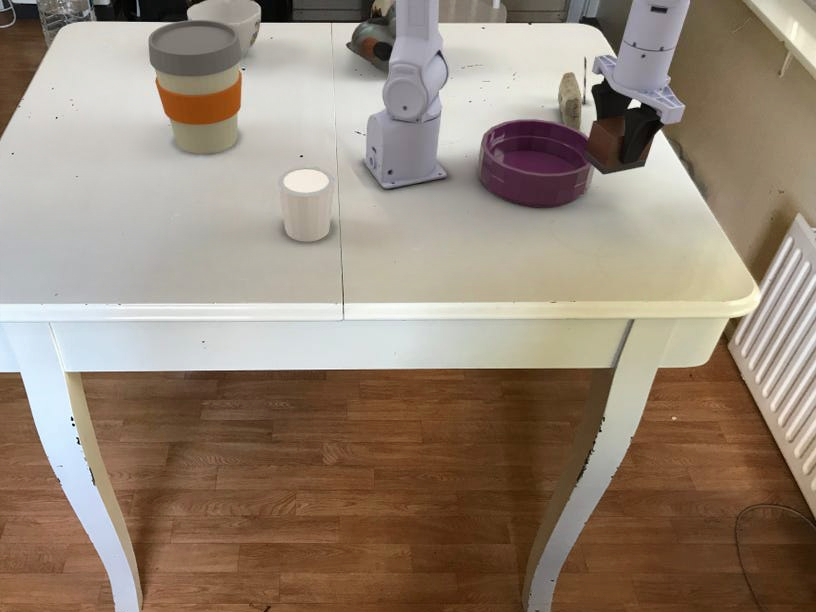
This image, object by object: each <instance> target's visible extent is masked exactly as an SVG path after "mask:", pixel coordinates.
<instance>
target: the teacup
mask: <svg viewBox="0 0 816 612" xmlns="http://www.w3.org/2000/svg"><path fill="white" fill-rule="evenodd" d="M186 15H187V21H188V20H210V21H217V22H221V23H225V24H227V25H230V26H231V27H233V28H234V29H235V30H236V31H237V33H238V37H239V42H240V47H241V52H242V58H241V60H242V59H243V58H244V57H245V56H246V55H247V53H248V52H249V51H250V50H251V49H252V48H253V46H254V45H255V42H256V40H257V38H258V36H259V33H260V27H261V20H262V7H261V6H260V4H259V3H257V2H256V1H255V0H203V1H201V2H199V3H195V4H193V5H192V6H191V7H189V8H188V9H187V10H186Z"/></svg>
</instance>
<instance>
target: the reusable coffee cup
mask: <svg viewBox="0 0 816 612" xmlns="http://www.w3.org/2000/svg"><path fill="white" fill-rule="evenodd" d="M148 53H149V54H148V56H149V63H150V65H151V67H152V68H154V72H155V75H156V77H155V80H154V83H155V86H156V89H157V92H158V96H159V99H160V102H161V106H162V108H163V111H164V114H165V116H166V117H168V119H169V122H170V125H171V128H172V129H171V130H172V132H173V135H174V137H175V141H176V145H177V146H178V148H179V149H181V150H183V151H185V152H187V153H191V154H196V155H210V154H216V153H221V152H224V151H226V150H228V149H230V148H231V147H232V146H234V144H236V142H237V138H238V115H239V114H238V113H239V111H240V110H241V107H242V83H243V74H242V72H241V70H240V62H241V60H242V59H243V58H242V52H241V47H240V42H239V37H238V33H237V31H236V30H235V29H234V28H233V27H231V26H230V25H227V24H225V23H221V22H217V21H210V20H188V19H187V20H181V21H175V22H172V23H168V24H165V25H162V26H160V27H158V28H156V29H155V30H153V31H152V32H151V33H150V35H149V36H148ZM241 58H242V59H241Z"/></svg>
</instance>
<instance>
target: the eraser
mask: <svg viewBox="0 0 816 612" xmlns="http://www.w3.org/2000/svg"><path fill="white" fill-rule="evenodd" d="M624 133H625V120H624V115H623V116H617V117H612V118H606V119H600V120H597V119H596V120H595V119H594V120H593V121H592V124H591V128H590V131H589V135H588V137H589V138H588V142H587V146H586V151H585V154H584V158H585V159H586V160H587V161H588V162H589V163H590V164H591V165H593V166H594V167H595V170H597V171H598V172H599V173H601V174H602V175H610V174H614V173H619V172H624V171H625V172H626V171H629V170H635V169H639V168H644V167H645V165H646V163H647V160H648V157H649V154H650V151H651V148H652V145H653V142H654V139H655V136H656V134H655V135H654V137H653V138H652V139H651V140H650V142H649V143H648V145H647V146H646V148H645V149H644V151H643V152H642V154H641V155H640V157H639V159H638V160H637V162H633V163H628V164H622V163H621V162H620V155H621V148H622V144H623V140H624Z"/></svg>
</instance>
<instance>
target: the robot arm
mask: <svg viewBox="0 0 816 612" xmlns="http://www.w3.org/2000/svg"><path fill="white" fill-rule="evenodd" d="M690 4H691V0H632V3H631V6H630V11H629V14H628V18H627V21H626V25H625V29H624V33H623V36H622V40H621V43H620V48H619V50H618V54H617V57H616V56H613V55H611V54H610V53H607V54H601V55H596V56H595V57H594V61H593V64H592V69H591V72H592V73H593V74H594V75H597V76H599V75H602V76H603V80H601V82H600V83H595V84H593V85H592V86H591V89H590V93H591V95H592V99H593V103H594V106H595V114H596V120H600V119H606V118H612V117H617V116H623V115H624V120H625V133H624V140H623V144H622V148H621V155H620V162H621V163H622V164H628V163H633V162H637V160H638V159H639V157H640V155H641V154H642V152H643V151H644V149H645V148H646V146H647V145H648V143H649V142H650V140H651V139H652V138H653V137H654V138H655V136H656V135H657V133H658V132H659V131H660V130H661V129H662V128H663V127H664V126H667V125H672V124H677V123H680V122H681V120H682V118H683V115H684V112H685V109H686V105H685V104H684V103H682V102H681V101H680V100H679V99H678V97H677V96H676V95H675V93H674V91H673V90H672V89H671V87H670V86H669V84H670V82H671V79H672V78H671V77H670V76H669V75H668V72H669V70H670V66H671V63H672V60H673V57H674V54H675V50H676V48H677V45H678V42H679V39H680V35H681V33H682V29H683V26H684V24H685V20H686V17H687V14H688V11H689V8H690ZM439 9H440V0H396V40H395V44H394V47H393V50H392V53H391V57H390V60H389V74H388V73H387V74H388V75H387V77H386V80H385V81H384V84H383V87H382V92H381V93H382V94H381V96H382V102H383V105H384V107H385V108H383V109H382V110H381V111H378V112H376V113H373V114H371V115H369V117H368V119H367V123H366V142H365V143H366V144H365V158H364V159H363V163H364V165H366V167H367V168H368V170H369V171H370V173H371V174H372V175H373V177H375V179H376V180H377V182H378V183H379V185H380V186H381V187H382V189H385V190H388V189H395V188H399V187H405V186H408V185H414V184H419V183H425V182H429V181H430V182H431V181H435V180H440V179H445V178H447V176H448V174H447V172H446V171H445V169H444V168H443V167H442V166H441V165H440V164H439V163H438V161H437V159H438V158H437V156H438V149H439V148H438V147H439V139H440V127H441V120H442V110H443V105H442V102H441V98H440V91H441V90H442V89H443V88H444V87H445V86H446V84H447V82H448V80H449V78H450V77H449V76H450V65H449V63H448V62H449V61H448V60H447V58H446V56H445V53H444V38H443V37H442V35H441V33H440V31H439V13H440V12H439ZM633 100H635V101H637V102H639V103H640V106H635V107H630V105H631V103H632V101H633ZM629 107H630V108H629ZM654 135H655V136H654Z"/></svg>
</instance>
